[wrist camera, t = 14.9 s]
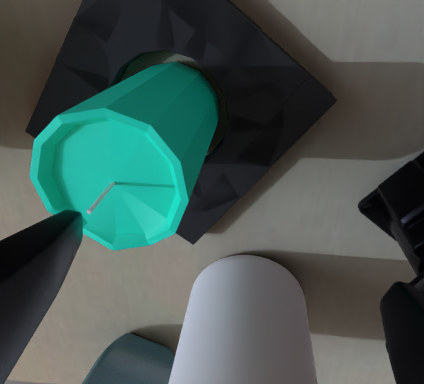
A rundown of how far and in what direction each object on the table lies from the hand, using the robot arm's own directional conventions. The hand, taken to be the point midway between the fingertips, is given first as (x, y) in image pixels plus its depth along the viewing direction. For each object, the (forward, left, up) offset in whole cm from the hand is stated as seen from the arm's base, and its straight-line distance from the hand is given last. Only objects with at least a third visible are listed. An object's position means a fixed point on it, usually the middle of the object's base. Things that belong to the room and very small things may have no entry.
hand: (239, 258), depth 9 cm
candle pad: (+4, +3, -13) cm, 14 cm away
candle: (+4, +3, -13) cm, 14 cm away
